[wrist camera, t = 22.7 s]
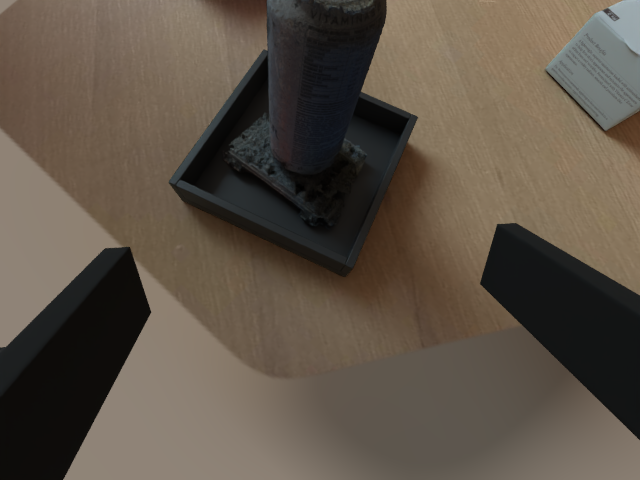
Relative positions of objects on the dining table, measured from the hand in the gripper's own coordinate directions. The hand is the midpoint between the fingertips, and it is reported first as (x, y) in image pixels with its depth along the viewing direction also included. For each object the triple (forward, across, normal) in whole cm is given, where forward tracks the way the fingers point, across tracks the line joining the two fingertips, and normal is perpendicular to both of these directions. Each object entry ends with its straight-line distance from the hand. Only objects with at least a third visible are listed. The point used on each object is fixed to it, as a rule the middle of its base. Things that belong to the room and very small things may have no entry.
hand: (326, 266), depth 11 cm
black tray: (+13, 0, 0) cm, 13 cm away
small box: (+18, +28, +6) cm, 34 cm away
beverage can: (+12, 0, +1) cm, 12 cm away
